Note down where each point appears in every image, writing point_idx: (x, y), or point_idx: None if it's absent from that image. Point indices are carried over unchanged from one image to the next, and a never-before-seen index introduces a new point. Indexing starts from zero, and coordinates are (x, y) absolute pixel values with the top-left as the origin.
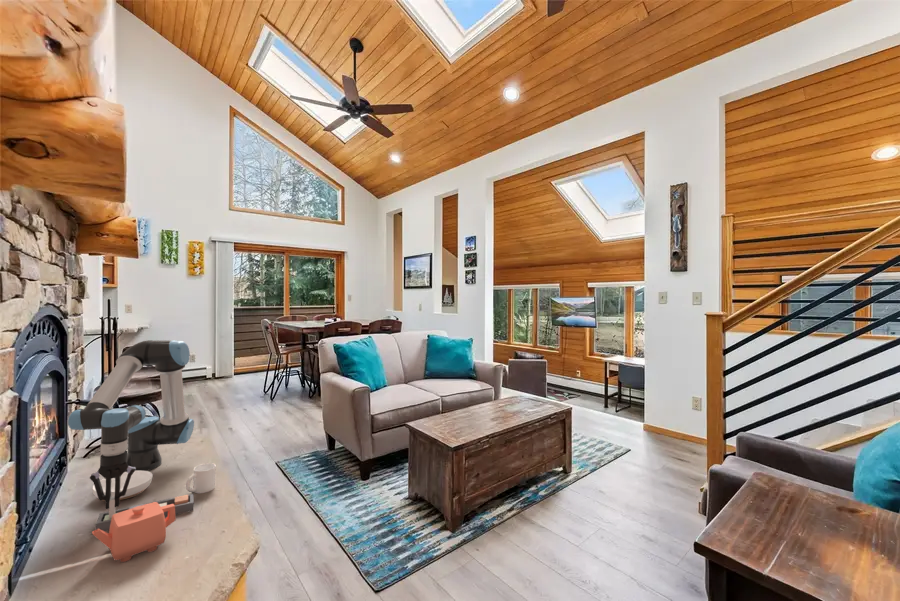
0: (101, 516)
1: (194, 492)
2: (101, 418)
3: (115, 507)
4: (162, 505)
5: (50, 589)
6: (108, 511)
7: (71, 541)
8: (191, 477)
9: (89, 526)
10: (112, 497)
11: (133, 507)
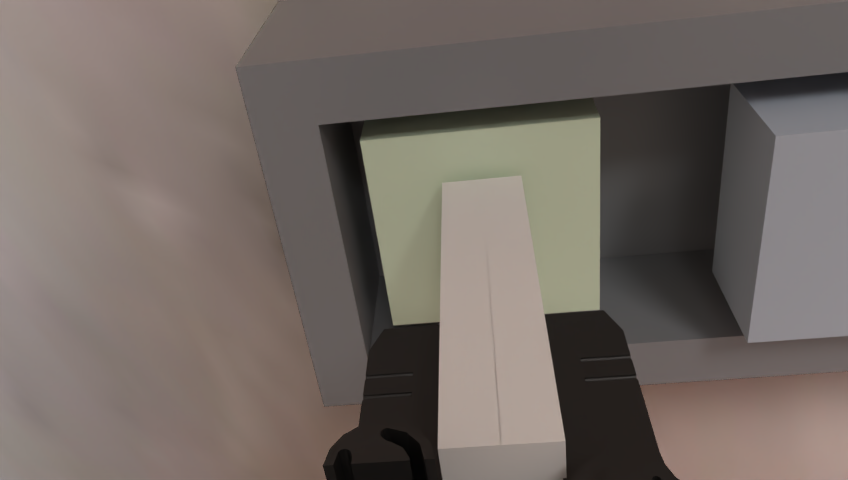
0: (319, 209)
1: None
2: None
3: (532, 246)
4: None
5: None
6: (379, 59)
7: (133, 324)
8: None
9: (159, 22)
10: (488, 465)
11: (838, 202)
